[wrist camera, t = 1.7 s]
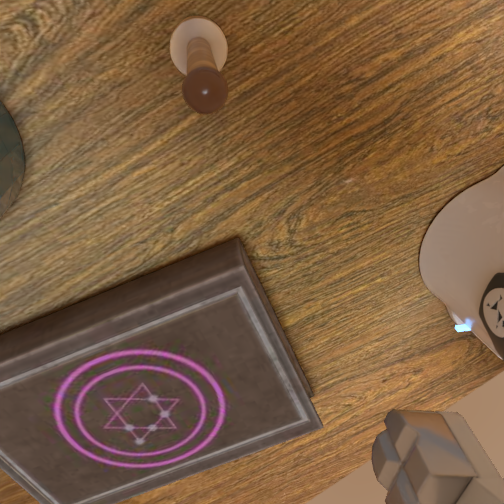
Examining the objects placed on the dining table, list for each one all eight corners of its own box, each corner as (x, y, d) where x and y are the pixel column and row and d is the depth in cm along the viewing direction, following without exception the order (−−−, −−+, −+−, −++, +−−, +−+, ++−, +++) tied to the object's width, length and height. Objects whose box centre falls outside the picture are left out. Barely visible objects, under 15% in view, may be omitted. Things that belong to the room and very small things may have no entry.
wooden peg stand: (228, 18, 34) (258, 48, 19) (223, 77, 36) (248, 145, 21) (171, 12, 33) (157, 38, 18) (169, 72, 35) (156, 139, 20)
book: (71, 481, 56) (62, 523, 52) (-60, 354, 45) (-86, 393, 41) (312, 392, 53) (323, 428, 49) (236, 232, 42) (242, 260, 38)
